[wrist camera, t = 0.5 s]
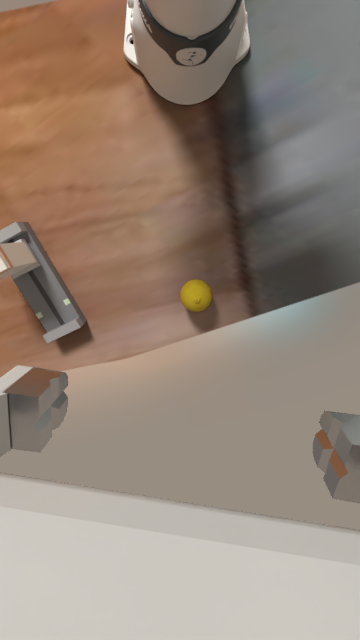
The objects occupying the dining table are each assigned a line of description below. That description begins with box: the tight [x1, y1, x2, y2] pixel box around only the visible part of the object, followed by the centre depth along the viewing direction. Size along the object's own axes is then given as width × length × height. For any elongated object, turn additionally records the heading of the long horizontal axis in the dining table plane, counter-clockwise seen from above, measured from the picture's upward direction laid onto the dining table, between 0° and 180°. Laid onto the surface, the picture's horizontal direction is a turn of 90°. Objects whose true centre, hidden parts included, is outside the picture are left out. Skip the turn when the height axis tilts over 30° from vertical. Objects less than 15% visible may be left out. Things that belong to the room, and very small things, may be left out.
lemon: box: [180, 279, 212, 312], centre depth 52 cm, size 6×6×8 cm
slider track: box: [0, 222, 87, 343], centre depth 53 cm, size 20×7×4 cm, turn 26°
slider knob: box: [0, 239, 41, 279], centre depth 46 cm, size 5×6×10 cm
